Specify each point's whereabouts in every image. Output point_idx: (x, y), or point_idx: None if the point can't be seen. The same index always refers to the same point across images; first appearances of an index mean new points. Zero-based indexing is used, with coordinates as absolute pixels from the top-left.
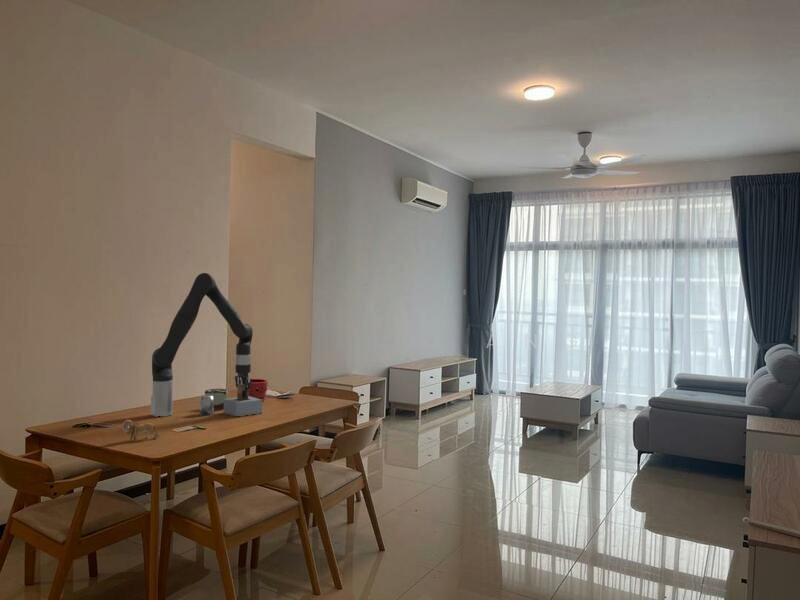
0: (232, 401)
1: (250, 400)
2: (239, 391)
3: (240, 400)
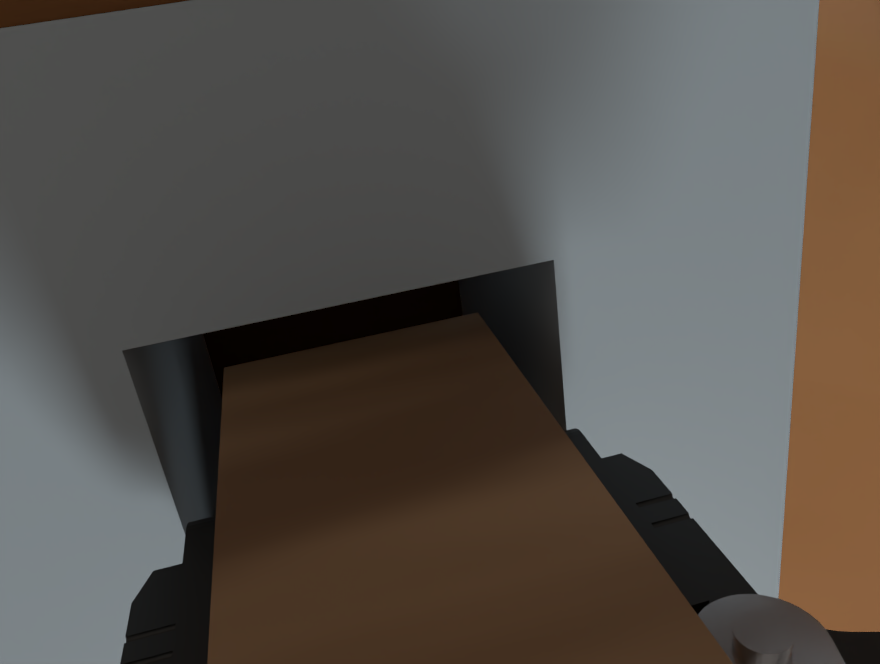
0: (84, 39)
1: (67, 646)
2: (408, 567)
3: (265, 384)
